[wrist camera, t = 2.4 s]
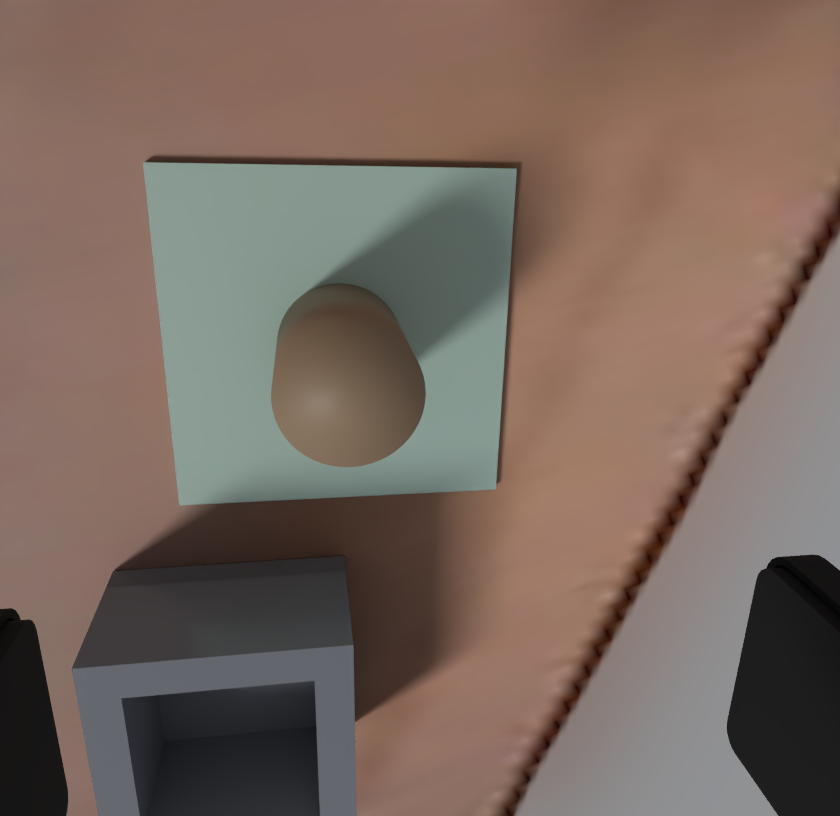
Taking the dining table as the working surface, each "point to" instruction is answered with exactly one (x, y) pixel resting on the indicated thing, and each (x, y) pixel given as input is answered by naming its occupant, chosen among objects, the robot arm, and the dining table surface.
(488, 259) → the lid
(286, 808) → the square open box
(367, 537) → the dining table surface
